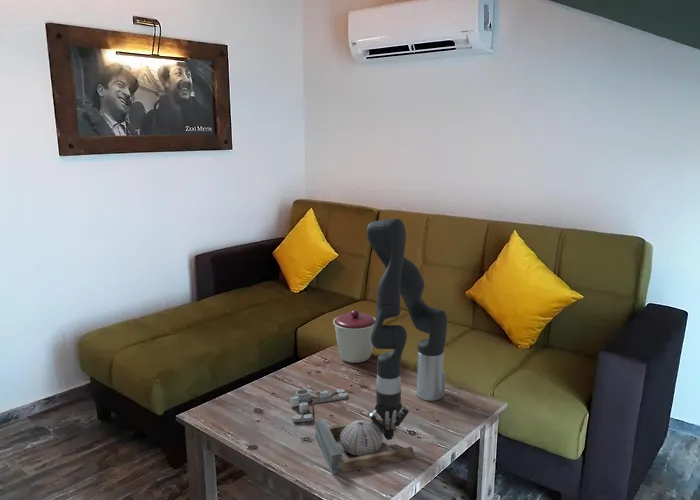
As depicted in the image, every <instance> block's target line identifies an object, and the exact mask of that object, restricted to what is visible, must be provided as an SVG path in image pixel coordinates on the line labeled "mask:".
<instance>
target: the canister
mask: <svg viewBox="0 0 700 500" xmlns="http://www.w3.org/2000/svg"><path fill="white" fill-rule="evenodd" d="M375 320H376V317H374V316H372V315H370V314H368V313H364V312H360V311H358V310H357V309H353V310H351V311H350V312H346V313H343V314H339V315H338V316H336V317H334V319H333V322H332V323H333V325H334V329H335V337H336V338H335V339H336V344H337V351H338V355H339V357H340V358H341V359H342V361H344V362H348V363H352V364H354V363H355V364H358V363H364V362H366V361H368V360H369V359H370V358H371V357H372V352H373V347H374V346H373V345H372V343H371V334H372V330H373V327H374V324H375Z"/></svg>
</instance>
